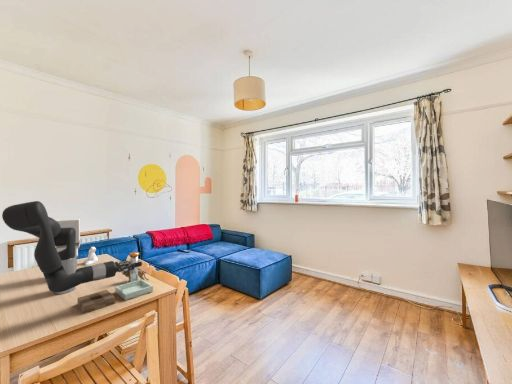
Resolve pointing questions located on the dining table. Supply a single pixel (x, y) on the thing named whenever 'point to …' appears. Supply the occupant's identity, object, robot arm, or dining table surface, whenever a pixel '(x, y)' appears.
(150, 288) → the tray
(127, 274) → the lion figurine
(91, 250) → the sitting furry creature
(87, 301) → the block
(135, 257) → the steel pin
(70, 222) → the tall grey pillar
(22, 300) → the dining table surface
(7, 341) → the dining table surface
